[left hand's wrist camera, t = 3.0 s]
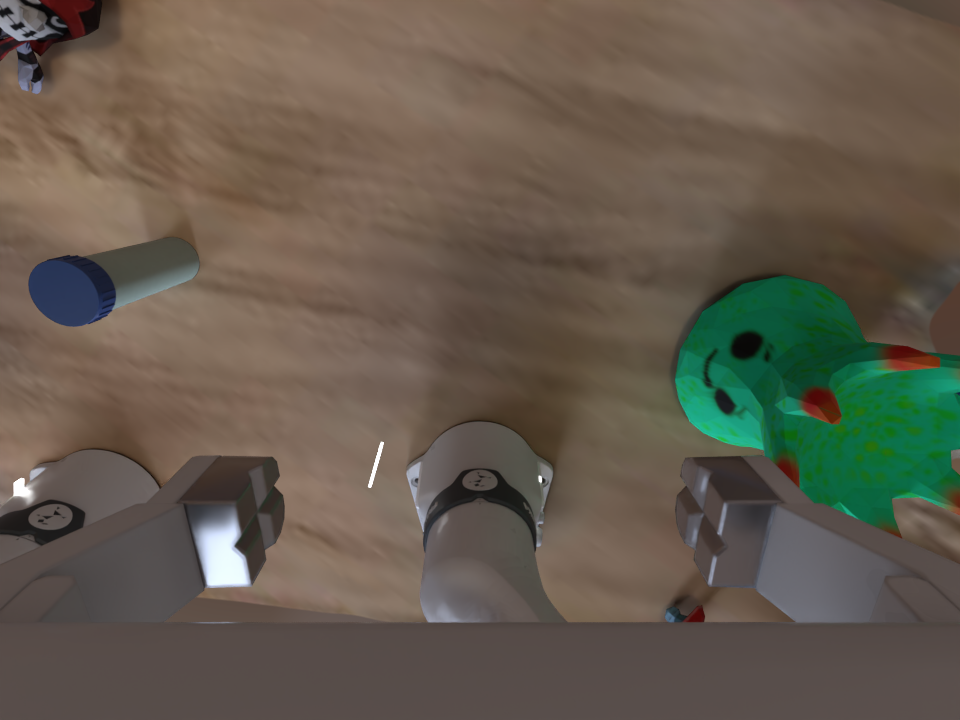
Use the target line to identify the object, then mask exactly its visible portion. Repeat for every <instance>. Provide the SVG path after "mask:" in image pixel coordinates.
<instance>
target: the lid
mask: <svg viewBox="0 0 960 720" xmlns="http://www.w3.org/2000/svg"><path fill="white" fill-rule="evenodd" d="M29 292H30V295H31V298H32V300H33V302H34V303H35V305H36V306H37V308H38V309H39V310H40V311H41V312H42V313H43V314H44V315H45V316H46V317H48V318H49V319H51V320H52V321H54V322H56V323H59V324H61V325H65V326H72V327H75V326H82V325H85V324H90V323H93V322H95V321H98V320H100V319H101V318H103V317H106V316H108V314H109V313H110V312H111V311H112V309H113V307H114V305H115V302H116V291H115V287H114V284H113V281H112V280H111V278H110V276H109V275H108V274H107V272H106V271H105V270H104V269H103V268H102V267H101V266H99V265H98V264H97V263H95V262H94V261H92V260H89V259H87V258H86V257H85V258H84V257H80V256H78V255H76V256H70V255H67V256H63V257H58V258H54V259H49V260H47V261H45V262H42V263H40V264H38V265H37V266H36V267H35V268H34V269H33V271H32V272H31V274H30V277H29Z"/></svg>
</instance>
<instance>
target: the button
mask: <svg viewBox="0 0 960 720" xmlns="http://www.w3.org/2000/svg"><path fill="white" fill-rule="evenodd" d="M665 618H666V620H667V621H668V622H704V619H705V615H704V611H703V607H702V605H701V606H697V607H696V608H695V609H694V610H693V611H692V612H691V613H690V614H689V616H688V617H687V616H684V615H681V614H680V611H679V609H677V608H675V607H671V608H669V609H666V614H665Z"/></svg>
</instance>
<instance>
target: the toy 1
mask: <svg viewBox="0 0 960 720" xmlns="http://www.w3.org/2000/svg"><path fill="white" fill-rule="evenodd" d="M101 7H102V2H101V0H0V61H1V60H2V59H3V58H4V57H5V56H6V54H7V53H8V52H9V51H11V50H13V49H15V48H17V54H18V81H19V84H20V86H21V88H22V90H27V91H29V87H30V86H29V82H30V80H31V86H32V92H33V93H35V94H38V93H39V92H40V91H41V87H42V82H43V76H44V75H43V72H42V69H41V67H40V65H39V63H38V61H37V59H36V56H35V54H34V52H36V53H37V54H38V55H39V56H41V55H42V54H43V53H44V52H45V51H46V50H47V49H48V48H49V47H50V46H51V45H52V44H53V43H58V42H63V41H67V40H72V39H76V38H79V37H82V36H86V35H88V34H90V33H91V32H93V31H95V30H96V29H98V28H99V21H100V14H101ZM4 37H8V38H5V39H3V38H4ZM33 51H34V52H33Z"/></svg>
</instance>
